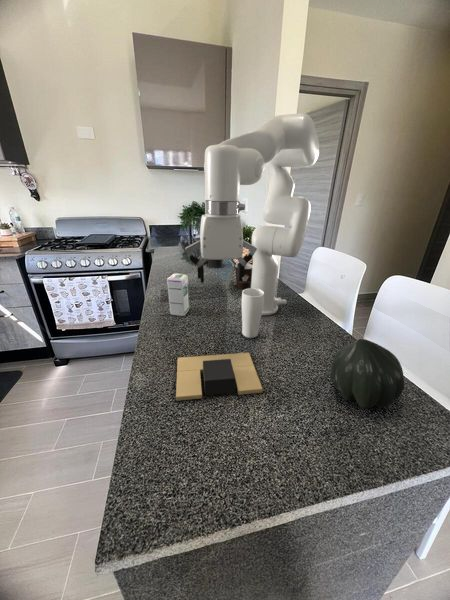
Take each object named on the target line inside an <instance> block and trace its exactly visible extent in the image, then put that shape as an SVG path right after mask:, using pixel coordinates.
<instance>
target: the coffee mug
mask: <svg viewBox="0 0 450 600" xmlns="http://www.w3.org/2000/svg"><path fill="white" fill-rule="evenodd" d="M237 265H238V263H237V264H235V266H234V267H235V281H236V282H235V283H236V287H237V288H238V289H243V290H245V289H248V288H251V280H252V266H253V264H251V263H247V265H246V266H245V272H244V277H242V281H241V282H240V281H239V280H238V278H237Z"/></svg>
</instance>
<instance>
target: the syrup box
mask: <svg viewBox="0 0 450 600" xmlns="http://www.w3.org/2000/svg"><path fill="white" fill-rule="evenodd" d="M188 278H189V275H188V274H186V273H172V274H171V275H170V276H169V277H167V278H166V283H167V284H166V285H167V295H168V304H169V305H168V306H169V315H173V316H178V317H179V316H180V317H185V316H186V315H187V314H188V312H189V311H190V293H189V279H188Z"/></svg>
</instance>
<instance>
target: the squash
mask: <svg viewBox="0 0 450 600" xmlns="http://www.w3.org/2000/svg"><path fill="white" fill-rule="evenodd" d="M329 377H330V381H331V383H332V384H333V385H334V386H335V387H336V388H337V389H338V391H339V392H340V394H341V395H342V397H343V398H344V399H345V400H346V401H348V402H355V401H356V403H357V405H358V406H359V407H360V408H362V409H366V410H368V409H371V408H372V407H374V406H376V407H379V408H388V407H389V406H390V405H391V404H392V403H393V402H394V401H396V400H397V399H399V398H400V396H401V395H402V393H403V391H404V388H405V379H404V371H403V367H402V364H401V362H400V361H399V359H398V358H397V356H396V355H395V354H394V353H393V352H392V351H390V350H389V349H387V348H386V347H383V346H382V345H379V344H378V343H375V342H374V341H372V340H369V339H367V338H366V339H365V338H362V337H361V338H359V339H356V340H354V341H353V342H351V343H349V344H347V345H345V346H343V347H342V348H340V349H339V350H338V351H337V352H336V354H335V355H334V356H333V359H332V363H331V366H330V368H329Z"/></svg>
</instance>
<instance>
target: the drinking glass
mask: <svg viewBox="0 0 450 600" xmlns="http://www.w3.org/2000/svg"><path fill="white" fill-rule="evenodd" d="M263 303H264V292H263V291H262V290H260V289H255V288H251V287H249V288H246V289H243V290H242V291H241V304H240V305H241V306H240V307H241V334H242V335H243V337H245V338H248V339H254V338H256V337H258V335H259V330H260V325H261V319H262V316H263V315H262V309H263Z"/></svg>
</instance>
